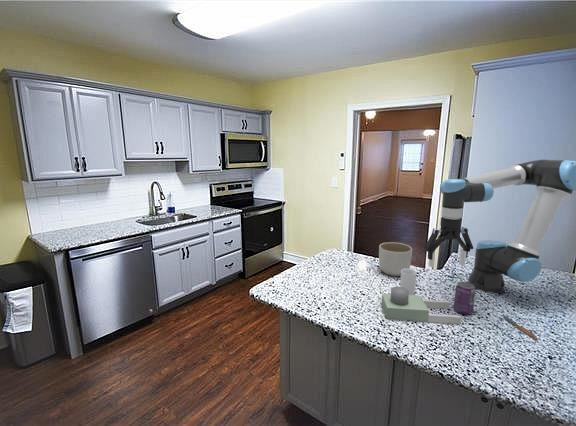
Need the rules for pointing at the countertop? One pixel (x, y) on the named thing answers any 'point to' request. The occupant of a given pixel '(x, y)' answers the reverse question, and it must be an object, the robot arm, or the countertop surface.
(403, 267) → the planter
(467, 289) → the beverage can
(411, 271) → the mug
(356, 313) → the countertop surface
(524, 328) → the knife
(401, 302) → the stepped platform base
